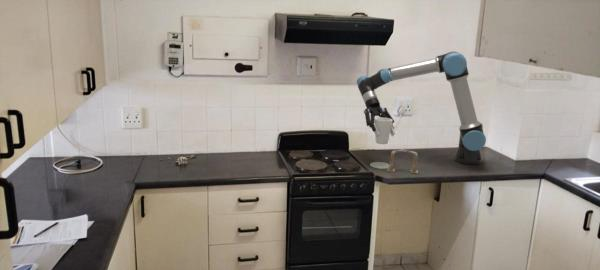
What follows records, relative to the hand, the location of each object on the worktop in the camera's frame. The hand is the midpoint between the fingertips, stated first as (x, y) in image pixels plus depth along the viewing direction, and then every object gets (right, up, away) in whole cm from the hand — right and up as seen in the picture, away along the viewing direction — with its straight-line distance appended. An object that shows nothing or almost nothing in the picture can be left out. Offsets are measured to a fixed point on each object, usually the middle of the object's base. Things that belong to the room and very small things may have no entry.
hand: (385, 135), depth 261 cm
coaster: (-2, -17, +7) cm, 18 cm away
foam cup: (-2, -4, +4) cm, 6 cm away
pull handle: (+9, -19, 0) cm, 21 cm away
